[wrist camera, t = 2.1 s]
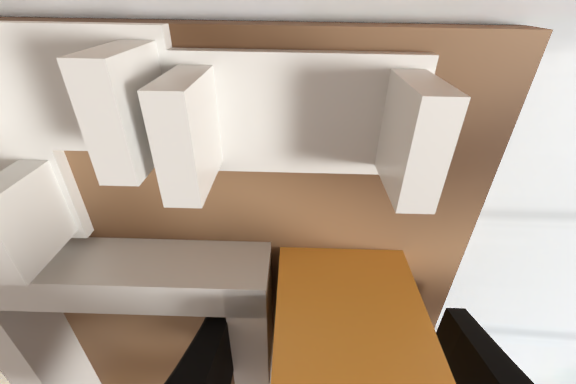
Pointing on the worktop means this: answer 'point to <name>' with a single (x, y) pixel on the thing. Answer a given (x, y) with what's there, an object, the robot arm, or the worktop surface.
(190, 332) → the board
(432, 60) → the clip
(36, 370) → the frame
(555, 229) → the worktop surface
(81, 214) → the clip
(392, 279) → the block
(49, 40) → the clip
